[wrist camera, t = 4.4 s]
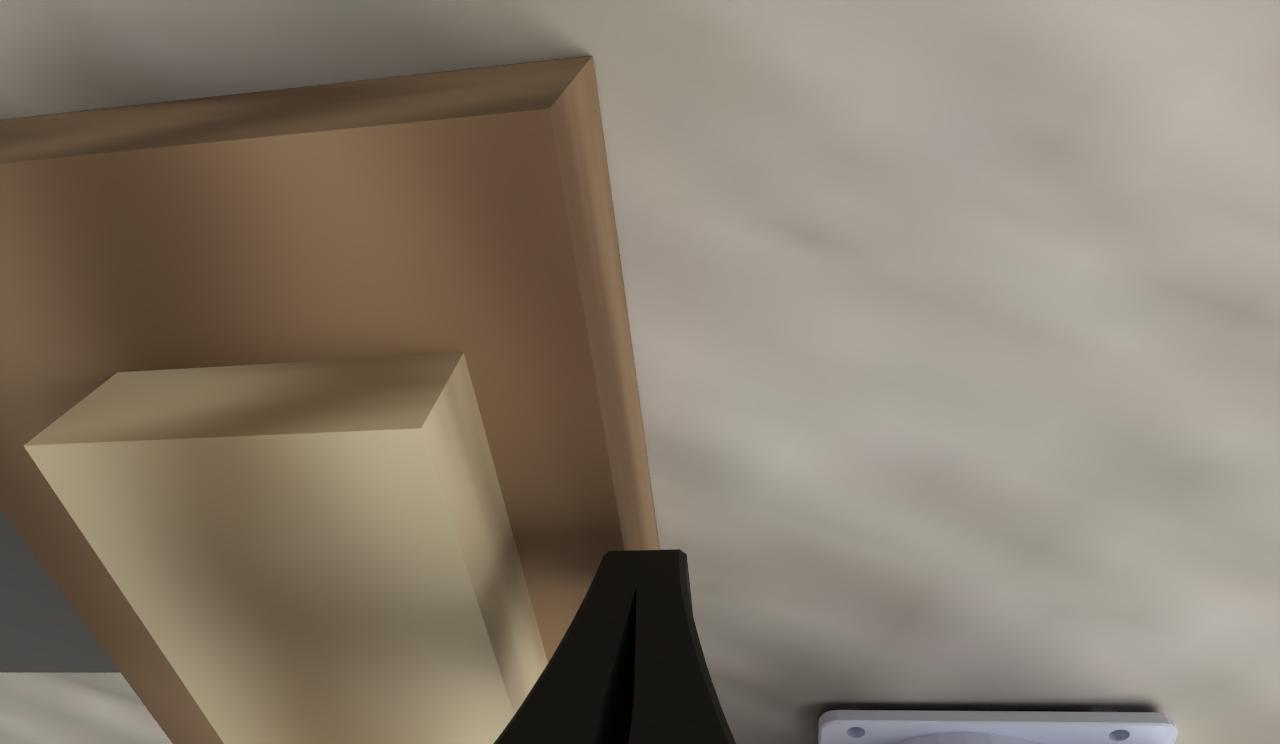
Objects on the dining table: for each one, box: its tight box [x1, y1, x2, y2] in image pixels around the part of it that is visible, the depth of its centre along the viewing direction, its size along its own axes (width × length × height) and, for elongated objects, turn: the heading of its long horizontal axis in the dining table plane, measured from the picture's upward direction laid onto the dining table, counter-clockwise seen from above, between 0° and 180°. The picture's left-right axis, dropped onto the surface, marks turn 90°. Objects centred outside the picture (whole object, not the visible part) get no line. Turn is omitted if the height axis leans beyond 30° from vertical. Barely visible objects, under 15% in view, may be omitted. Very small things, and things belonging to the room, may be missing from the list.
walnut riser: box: [0, 56, 660, 744], centre depth 16 cm, size 12×16×4 cm
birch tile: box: [24, 353, 548, 744], centre depth 14 cm, size 6×9×2 cm, turn 6°
